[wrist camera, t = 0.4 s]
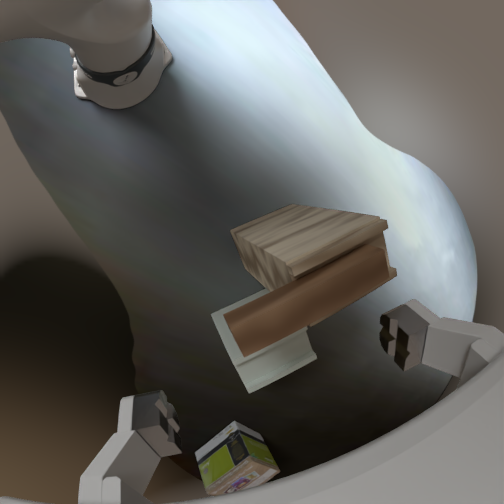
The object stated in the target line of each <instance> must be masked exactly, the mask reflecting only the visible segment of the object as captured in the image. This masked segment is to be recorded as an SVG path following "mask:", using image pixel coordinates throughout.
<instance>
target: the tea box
mask: <svg viewBox="0 0 504 504" xmlns="http://www.w3.org/2000/svg"><path fill="white" fill-rule="evenodd" d="M195 455H196V458H197V462H198V465H199V469H200V473H201V476H202V480H203V483H204V486H205V489H206V493H207V494H209V495H213V496H217V495H221V494H226V493H231V492H235V491H239V490H243V489H247V488H251V487H255V486H258V485H262V484H264V483H265V482H267V481H268V480H270V479H271V478H272V477H274V476H275V475H276V474H278V473H279V472H280V470H279V468H278V466H277V464H276V462H275V461H274V459H273V457H272V455H271V453H270V451H269V449H268V448H267V446H266V444H265V442H264V440H263V438H262V437H261V435H260V434H259V433H257V432H255V431H253V430H251V429H249V428H247V427H246V426H244V425H242V424H240V423H238V422H236V421H233V422H232V423H231V424H230V425H228V426H227V427H226V428H225V429H224V430H222V431H221V432H220V433H219V434H218V435H216V436H215V437H214V438H213V439H211V440H210V441H209V442H208V443H206V444H205V445H204V446H203V447H201V448H200V449H199V450H198V451H196V452H195Z"/></svg>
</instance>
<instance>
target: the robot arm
mask: <svg viewBox="0 0 504 504" xmlns="http://www.w3.org/2000/svg"><path fill="white" fill-rule="evenodd" d="M22 38H44V39H51V40H56V41H60V42H63V43H66V44H68V45H69V46H70V54H71V57H72V58H74V63H73V70H74V88H75V94H76V96H77V97H78V98H81V99H90V100H92V101H94V102H95V103H97V104H99V105H100V106H103V107H106V108H110V109H123V108H127V107H131V106H134V105H136V104H138V103H140V102H141V101H143V100H144V99H146V98H147V97H148V96H149V95H150V94H151V93H152V92H153V91H154V89H155V88H156V86H157V85H158V83H159V80H160V77H161V74H162V72H163V70H164V69H165V68H166V67H167V65H168V64H169V63H170V62H171V60H172V54H171V52H170V51H169V49H168V48H167V46H166V45H165V44H164V42H163V41H162V39H161V38H160V36H159V35H158V33H157V32H156V30H155V29H154V27H153V25H152V5H151V2H150V0H0V43H2V42H6V41H10V40H15V39H22ZM164 52H165V53H164ZM79 86H80V87H79ZM380 324H381V325H382V326H383V327H382V329H381V331H380V342H381V345H382V347H383V349H384V351H385V352H386V353H387V354H389V355H392V356H394V362H395V363H396V364H397V365H398V366H399V367H400V368H401V369H402V370H403V371H406V370H408V369H410V368H412V367H414V366H415V365H417V364H419V363H421V362H422V364H425V365H427V366H430V367H433V368H435V369H438V370H441V371H443V372H446V373H449V374H452V375H455V376H457V377H460V381H459V383H458V386H457V389H456V390H455V391H454V392H452V393H451V394H450V395H448V396H447V397H445V398H444V399H442V400H441V401H440V402H438V403H437V404H435V405H434V406H432V407H431V408H429V409H427V410H426V411H424V412H423V413H421V414H420V415H418V416H416V417H415V418H413V419H411V420H410V421H408V422H406V423H405V424H403V425H401V426H399V427H398V428H396V429H394V430H392V431H391V432H389V433H387V434H385V435H383V436H381V437H379V438H377V439H376V440H374V441H372V442H370V443H368V444H366V445H364V446H361V447H359V448H357V449H355V450H353V451H351V452H349V453H346V454H344V455H342V456H340V457H337V458H335V459H333V460H330V461H328V462H326V463H323V464H321V465H318V466H315V467H313V468H310V469H308V470H305V471H302V472H299V473H296V474H294V475H291V476H288V477H285V478H282V479H278V480H275V481H272V482H269V483H265V484H262V485H258V486H255V487H251V488H247V489H243V490H239V491H235V492H231V493H226V494H221V495H217V496H212V497H206V498H201V499H195V500H188V501H181V502H174V503H165V504H504V334H503V333H502V332H500V331H499V330H498V329H497V328H495V327H494V326H489V325H483V324H478V323H472V322H467V321H461V320H456V319H450V318H445V317H443V318H441V319H440V318H439V317H438V316H437V315H435V314H434V313H433V312H431V311H430V310H429V309H427V308H426V307H425V306H424V305H422V304H421V303H420V302H418V301H417V300H415V299H412V300H410V301H408V302H406V303H404V304H403V305H400V306H398V307H396V308H394V309H392V310H390V311H388V312H386V313H384V314H382V315H381V317H380ZM179 429H180V426H179V420H178V416H177V413H176V411H175V409H174V407H173V406H172V404H169V403H167V396H166V395H165V394H164V392H163V391H161V390H159V391H154V392H149V393H144V394H139V395H135V396H129V397H123V398H122V400H121V402H120V411H119V421H118V431H117V433H114V434H113V435H112V437H111V438H110V439H109V441H108V442H107V443H106V445H105V446H104V447H103V448H102V450H101V451H100V452H99V453H98V455H97V456H96V457H95V459H94V460H93V461H92V463H91V464H90V465H89V466H88V468H87V469H86V471H85V472H84V473H83V474H82V476H81V479H80V487H79V499H78V504H154V503H152V502H151V501H149V500H148V499H146V498H145V497H144V496H143V494H144V491H145V489H146V487H147V485H148V483H149V481H150V479H151V477H152V475H153V473H154V471H155V469H156V467H157V465H158V463H159V461H160V459H161V458H160V457H164V456H169V455H174V454H179V453H182V445H181V438H180V436H179V435H178V434H177V432H178V430H179ZM0 504H51V503H43V502H36V501H29V500H23V499H18V498H13V497H7V496H3V497H0Z"/></svg>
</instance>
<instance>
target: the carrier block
mask: <svg viewBox="0 0 504 504" xmlns="http://www.w3.org/2000/svg"><path fill="white" fill-rule="evenodd" d="M267 293H270V291H269V290H268V289H263V290H261V291H259V292H257V293H255V294H253V295H251V296H249V297H247V298H245V299H242V300H240V301H238V302H236V303H234V304H232V305H230V306H227V307H225V308H223V309H221V310H219V311H217V312H214V313H212V314H211V316H212V318H213V321H214V323H215V325H216V327H217V330H218V332H219V334H220V336H221V339H222V341H223V343H224V345H225V347H226V350H227V352H228V354H229V356H230V358H231V360H232V362H233V364H234V366H235V368H236V370H237V372H238V373H239V375H240V377H241V379H242V381H243V383H244V385H245V387H246V389H247V391H248V392H249V393H251V392H253V391H256V390H258V389H260V388H262V387H264V386H266V385H268V384H270V383H272V382H274V381H276V380H278V379H280V378H282V377H284V376H286V375H288V374H289V373H291V372H293V371H295V370H297V369H299V368H301V367H303V366H304V365H306V364H308V363H310V362H312V361H313V360H315V359H317V356H316V354H315V353H314V352H313V351H312V348H311V345H310V342H309V339H308V336H307V333H306V330H308V328H307V326H306V327H304V328H302V329H300V330H298V331H296V332H294V333H293V334H291V335H289V336H287V337H285V338H283V339H281V340H279V341H277V342H275V343H273V344H271V345H269V346H267V347H265V348H263V349H261V350H259V351H257V352H255V353H253V354H251V355H249V356H247V357H245V358H244V356H243V354H242V353H241V351H240V349H239V347H238V345H237V343H236V342H235V340H234V337H233V335H232V333H231V331H230V329H229V327H228V325H227V323H226V321H225V318H224V316H223V314H225V313H227V312H230V311H232V310H234V309H236V308H238V307H240V306H242V305H244V304H247V303H249V302H251V301H253V300H255V299H257V298H259V297H261V296H263V295H265V294H267Z"/></svg>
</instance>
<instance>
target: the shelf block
mask: <svg viewBox="0 0 504 504" xmlns="http://www.w3.org/2000/svg"><path fill="white" fill-rule="evenodd" d="M386 229H388V225H387V220H383V219H380V217H378V216H372V215H366V214H359V213H353V212H346V211H339V210H332V209H325V208H318V207H310V206H303V205H295V204H290V205H288V206H286V207H283V208H281V209H278V210H276V211H274V212H271V213H269V214H267V215H264V216H262V217H259V218H257V219H255V220H252V221H250V222H248V223H245V224H243V225H241V226H238V227H236V228H234V229H231V230H230V232H231V235H232V237H233V240H234V242H235V245H236V247H237V250H238V252H239V255H240V258H241V260H242V263H243V265H244V268H245V269H246V270H247V271H248V272H249V273H250V274H251V275H252V276H253V277H254V278H255V279H257V280H258V281H259V282H260V283H261V284H262V285H263V286H264V287H265V288H266V289H268V290H269V291H270V292H272V291H274V290H276V289H278V288H280V287H282V286H284V285H286V284H288V283H290V282H292V281H294V280H296V279H298V278H300V277H302V276H304V275H306V274H308V273H310V272H312V271H314V270H316V269H318V268H320V267H322V266H324V265H326V264H328V263H330V262H332V261H333V260H335V259H337V258H339V257H341V256H343V255H345V254H347V253H349V252H351V251H353V250H355V249H356V248H358V247H360V246H362V245H364V244H368V245H371V246H374V247H378V248H381V249H384V250H385V255H386V260H387V266H388V271H389V277H390V278H388V279H387V280H385V281H383V282H382V283H380V284H379V285H377V286H375V287H374V288H372V289H370V290H369V291H367V292H366V293H364V294H362V295H361V296H359V297H357V298H355V299H354V300H352V301H350V302H349V303H347V304H345V305H343V306H342V307H340V308H338V309H337V310H335V311H333V312H331V313H329V314H328V315H326V316H324V317H322V318H320V319H319V320H317V321H315V322H313V323H311V324H309V326H310V327H312V326H313V325H315V324H317V323H319V322H321V321H322V320H324V319H326V318H328V317H330V316H331V315H333V314H335V313H337V312H338V311H340V310H342V309H344V308H345V307H347V306H349V305H350V304H352V303H354V302H355V301H357V300H359V299H360V298H362V297H364V296H365V295H367V294H369V293H370V292H372V291H374V290H375V289H377V288H378V287H380V286H382V285H383V284H385V283H386V282H388V281H390V280H391V279H393V278H394V277H396V276H397V272H396V268H393V267H390V265H389V259H388V254H387V249H386V244H385V239H384V234H383V231H384V230H386Z"/></svg>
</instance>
